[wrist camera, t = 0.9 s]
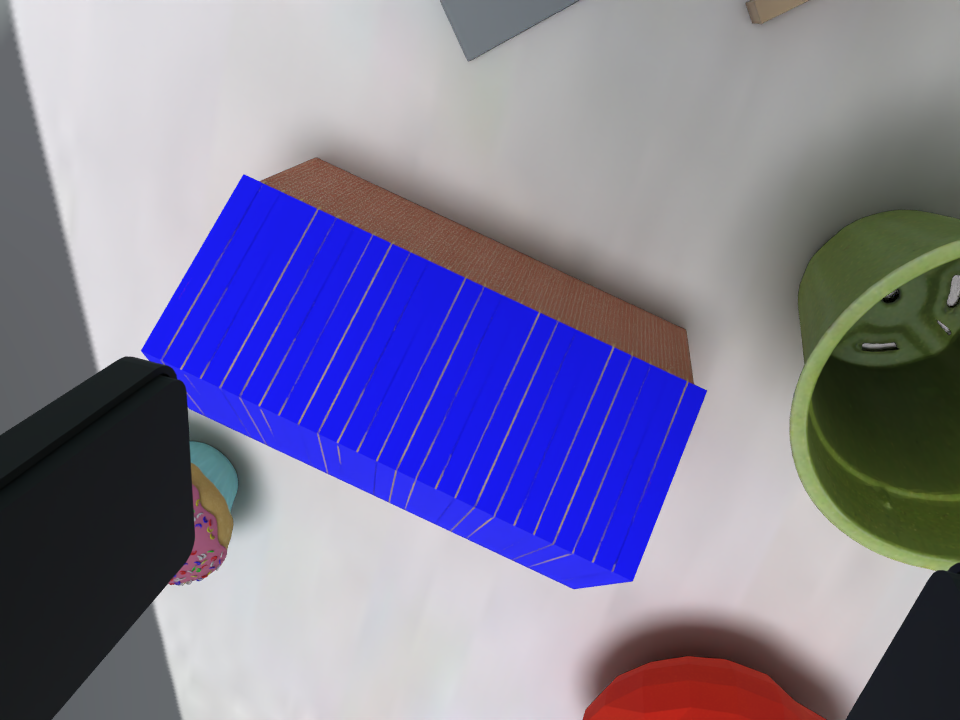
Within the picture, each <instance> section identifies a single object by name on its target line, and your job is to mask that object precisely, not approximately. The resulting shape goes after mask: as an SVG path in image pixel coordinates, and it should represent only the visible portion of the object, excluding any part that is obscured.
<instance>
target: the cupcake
mask: <svg viewBox="0 0 960 720" xmlns="http://www.w3.org/2000/svg"><path fill="white" fill-rule="evenodd" d="M190 457H191V474H192V491H193V508H194V525H195V542H194V546H193V549H192V552H191V554H190V556H189V558H188V560H187V561H186V563H185V564H184V566H183V567H182V568H181V569H180V570H179V571H178V573H177V574H176V575H175V576H174V577H173V578H172V580H171V581H170V582H169V583H168V584H170V585H174V584H176V585H177V586H181V585H182V586H183V585H184V584H185V583H187V585H190V584H191V583H192V581H194V580H197V581H201V580H203V579H204V578H205V577H207V576H208V575H209V574H210V573H212V572H213V571H215V570H216V571H217V570H218V569H219V567H220V566H221V564H222V563H223V561H224V560H225V558H226V555H227V548H228V545H229V542H230V539H231V534H232V530H233V518H232V516H231V508H232V505H233V502H234V499H235V496H236V494H237V490H238V477H237V474H236V471H235V469H234V467H233V466H232V464H231V463H230V461H229V460H228V459H227V458H226V457H225V456H224V455H223V454H222V453H221V452H220V451H218V450H217V449H215V448H213V447H212V446H209V445H207V444H204V443H201V442H195V441H190ZM189 582H190V583H189ZM183 583H184V584H183Z"/></svg>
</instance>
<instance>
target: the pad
mask: <svg viewBox="0 0 960 720" xmlns="http://www.w3.org/2000/svg"><path fill="white" fill-rule="evenodd" d="M577 1H579V0H440V2H441V4H442V7H443V9H444V11H445V13H446V15H447V17H448V20H449V22H450V24H451V26H452V28H453V30H454V33H455V35H456V37H457V39H458V41H459V43H460V46H461V48H462V50H463V52H464V54H465V56H466V59H467V61H471V60H473V59H474V58H476V57H478V56H480V55H482V54H483V53H485V52H487V51H489V50H491V49H492V48H494V47H496V46H498V45H500V44H501V43H503V42H505V41H507V40H509V39H510V38H512V37H514V36H516V35H518V34H519V33H521V32H523V31H525V30H527V29H528V28H530V27H532V26H534V25H536V24H537V23H539V22H541V21H543V20H545V19H546V18H548V17H550V16H552V15H554V14H555V13H557V12H559V11H561V10H563V9H564V8H566V7H568V6H570V5H572V4H573V3H575V2H577Z"/></svg>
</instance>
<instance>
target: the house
mask: <svg viewBox="0 0 960 720" xmlns="http://www.w3.org/2000/svg"><path fill="white" fill-rule="evenodd" d="M141 351H142V353H143V354H144V355H145V356H146V357H147V359H148V360H149V361H151V362H155V363H159V364H163V365H167V366H170V367H171V368H173V369H174V371H175V373H176V375H177V379H178V380H181V381H182V382H183V383H184V384H185V386H186V391H187V406H188V408H189V409H191V410H193V411H195V412H197V413H199V414H201V415H204V416H206V417H208V418H210V419H212V420H214V421H216V422H218V423H221V424H223V425H225V426H227V427H229V428H231V429H233V430H236V431H238V432H240V433H242V434H244V435H246V436H248V437H250V438H253V439H255V440H257V441H259V442H261V443H263V444H265V445H267V446H270V447H272V448H274V449H276V450H278V451H280V452H282V453H285V454H287V455H289V456H291V457H293V458H295V459H297V460H299V461H302V462H304V463H306V464H308V465H310V466H312V467H314V468H317V469H319V470H321V471H323V472H325V473H327V474H329V475H331V476H334V477H336V478H338V479H340V480H342V481H344V482H346V483H349V484H351V485H353V486H355V487H357V488H359V489H361V490H363V491H366V492H368V493H370V494H372V495H374V496H376V497H378V498H380V499H383V500H385V501H387V502H389V503H391V504H393V505H395V506H398V507H400V508H402V509H404V510H406V511H408V512H410V513H412V514H415V515H417V516H419V517H421V518H423V519H425V520H427V521H430V522H432V523H434V524H436V525H438V526H440V527H442V528H444V529H447V530H449V531H451V532H453V533H455V534H457V535H459V536H462V537H464V538H466V539H468V540H470V541H472V542H474V543H476V544H479V545H481V546H483V547H485V548H487V549H489V550H491V551H494V552H496V553H498V554H500V555H502V556H504V557H506V558H508V559H511V560H513V561H515V562H517V563H519V564H521V565H523V566H525V567H528V568H530V569H532V570H534V571H536V572H538V573H540V574H543V575H545V576H547V577H549V578H551V579H553V580H555V581H557V582H560V583H562V584H564V585H566V586H568V587H570V588H572V589H579V588H586V587H594V586H601V585H609V584H616V583H624V582H631V581H633V579H634V577H635V574H636V572H637V569H638V566H639V564H640V561H641V559H642V556H643V554H644V551H645V548H646V546H647V543H648V541H649V538H650V536H651V533H652V531H653V528H654V525H655V523H656V520H657V518H658V515H659V513H660V510H661V508H662V505H663V502H664V500H665V497H666V495H667V492H668V490H669V487H670V484H671V482H672V479H673V477H674V474H675V472H676V469H677V467H678V464H679V461H680V459H681V456H682V454H683V451H684V449H685V446H686V443H687V441H688V438H689V436H690V433H691V431H692V428H693V426H694V423H695V420H696V418H697V415H698V413H699V410H700V408H701V405H702V403H703V400H704V397H705V395H706V392H707V390H705V389H703V388H700V387H698V386H696V385H694V383H693V375H692V368H691V361H690V354H689V346H688V339H687V332H686V330H685V329H683V328H681V327H679V326H677V325H674V324H672V323H670V322H668V321H666V320H664V319H662V318H659V317H657V316H655V315H653V314H651V313H649V312H647V311H644V310H642V309H640V308H638V307H636V306H634V305H632V304H629V303H627V302H625V301H623V300H621V299H619V298H617V297H614V296H612V295H610V294H608V293H606V292H604V291H602V290H599V289H597V288H595V287H593V286H591V285H589V284H587V283H584V282H582V281H580V280H578V279H576V278H574V277H572V276H569V275H567V274H565V273H563V272H561V271H559V270H557V269H554V268H552V267H550V266H548V265H546V264H544V263H542V262H539V261H537V260H535V259H533V258H531V257H529V256H527V255H524V254H522V253H520V252H518V251H516V250H514V249H512V248H509V247H507V246H505V245H503V244H501V243H499V242H497V241H494V240H492V239H490V238H488V237H486V236H484V235H482V234H479V233H477V232H475V231H473V230H471V229H469V228H466V227H464V226H462V225H460V224H458V223H456V222H454V221H451V220H449V219H447V218H445V217H443V216H441V215H439V214H436V213H434V212H432V211H430V210H428V209H426V208H424V207H421V206H419V205H417V204H415V203H413V202H411V201H409V200H406V199H404V198H402V197H400V196H398V195H396V194H394V193H391V192H389V191H387V190H385V189H383V188H381V187H379V186H376V185H374V184H372V183H370V182H368V181H366V180H364V179H361V178H359V177H357V176H355V175H353V174H351V173H349V172H346V171H344V170H342V169H340V168H338V167H336V166H334V165H331V164H329V163H327V162H325V161H323V160H321V159H319V158H313V159H311V160H309V161H306V162H304V163H302V164H299V165H297V166H295V167H292V168H290V169H287V170H285V171H283V172H280V173H278V174H276V175H273V176H271V177H269V178H266V179H264V180H261V181H257V180H255V179H253V178H251V177H249V176H246V175H244V174H243V176H242V178H241V180H240V181H239V183H238V185H237V187H236V188H235V190H234V192H233V193H232V195H231V197H230V199H229V200H228V202H227V204H226V205H225V207H224V209H223V211H222V212H221V214H220V216H219V217H218V219H217V221H216V223H215V224H214V226H213V228H212V230H211V231H210V233H209V235H208V236H207V238H206V240H205V242H204V243H203V245H202V247H201V248H200V250H199V252H198V254H197V255H196V257H195V259H194V260H193V262H192V264H191V266H190V267H189V269H188V271H187V272H186V274H185V276H184V278H183V279H182V281H181V283H180V285H179V286H178V288H177V290H176V291H175V293H174V295H173V297H172V298H171V300H170V302H169V303H168V305H167V307H166V309H165V310H164V312H163V314H162V315H161V317H160V319H159V321H158V322H157V324H156V326H155V328H154V329H153V331H152V333H151V334H150V336H149V338H148V340H147V341H146V343H145V345H144V346H143V348H142V350H141Z"/></svg>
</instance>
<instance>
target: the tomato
mask: <svg viewBox="0 0 960 720" xmlns="http://www.w3.org/2000/svg"><path fill="white" fill-rule="evenodd" d="M583 720H826V719H825V718H823V717H821V716H820V715H818V714H816V713H815V712H813V711H811V710H809V709H808V708H806V707H804V706H803V705H801V704H799V703H797V702H796V701H794V700H793V699H792V698H791V697H790V696H789V695H788V694H787V693H786V692H785V691H784V690H783V689H782V688H781V687H780V686H779V685H778V684H777V683H775V682H774V681H773V680H772V679H771V678H770V677H769V676H768V675H767V674H764V673H762V672H759V671H756V670H754V669H751V668H748V667H746V666H743V665H740V664H737V663H735V662H732V661H729V660H726V659H716V658H702V657H692V656H685V657H679V658H673V659H666V660H660V661H654V662H649V663H647V664H645V665H642V666H640V667H638V668H635V669H633V670H630V671H628V672H626V673H623V674H621V675H619V676H617V677H616V678H615V679H614V680H613V681H612V682H611V683H610V685H609V686H608V687H607V688H606V689H605V690H604V691H603V692H602V693H601V694H600V695H599V696H598V697H597V698H596V699H595V700H594V701H593V702H592V703H591V704H590V705H589V707H588V708H587V709H586V710H585V714H584V717H583Z"/></svg>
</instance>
